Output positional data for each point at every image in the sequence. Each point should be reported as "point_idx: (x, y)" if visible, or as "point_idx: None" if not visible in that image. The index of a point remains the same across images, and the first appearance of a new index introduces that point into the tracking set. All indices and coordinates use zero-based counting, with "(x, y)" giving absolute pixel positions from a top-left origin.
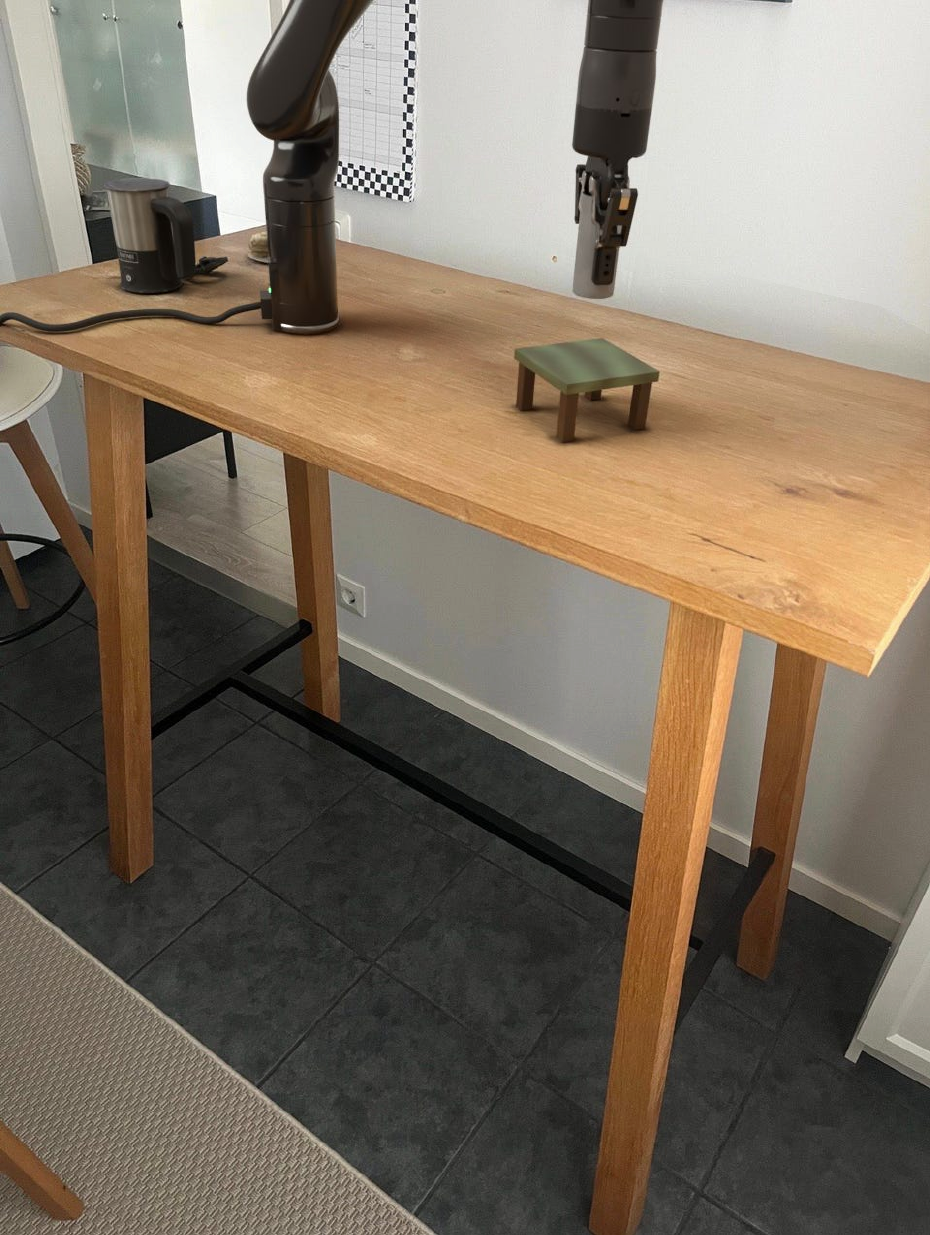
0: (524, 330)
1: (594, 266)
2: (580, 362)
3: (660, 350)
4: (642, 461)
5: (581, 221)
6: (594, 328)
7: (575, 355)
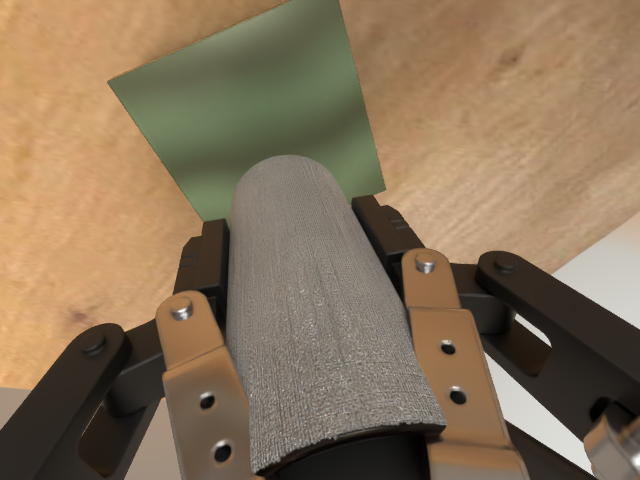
0: (628, 77)
1: (202, 248)
2: (252, 132)
3: (484, 251)
4: (112, 180)
5: (299, 298)
6: (584, 186)
7: (293, 127)
